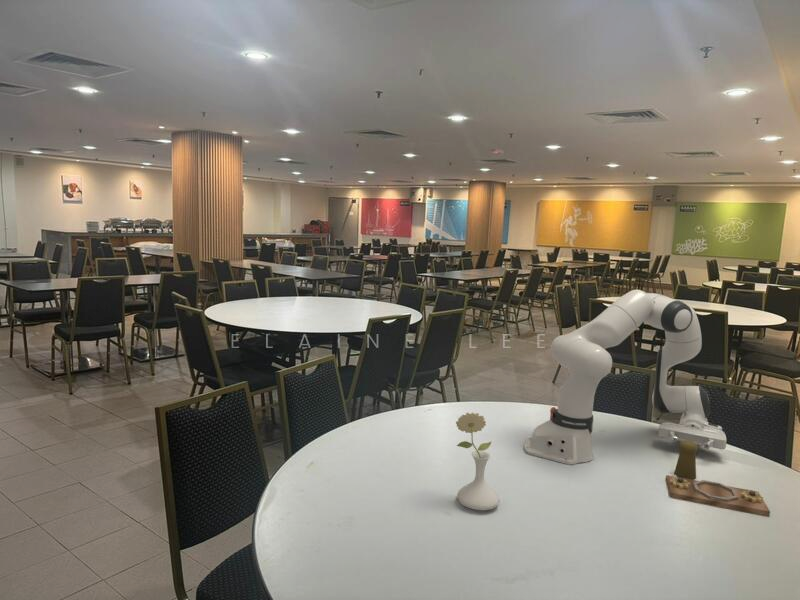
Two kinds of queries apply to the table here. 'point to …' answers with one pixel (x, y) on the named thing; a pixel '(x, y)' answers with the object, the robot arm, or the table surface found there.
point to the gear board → (717, 495)
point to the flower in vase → (477, 491)
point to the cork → (686, 460)
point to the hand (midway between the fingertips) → (690, 442)
